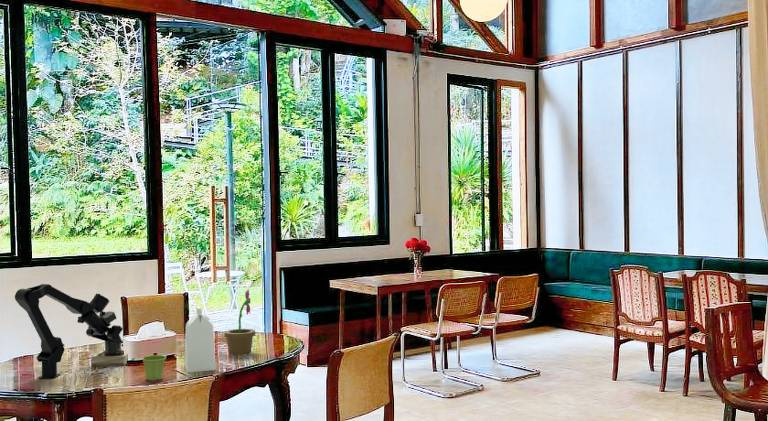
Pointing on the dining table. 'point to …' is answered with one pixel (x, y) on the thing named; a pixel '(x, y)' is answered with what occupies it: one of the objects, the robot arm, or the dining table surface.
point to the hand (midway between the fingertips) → (115, 342)
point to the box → (109, 359)
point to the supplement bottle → (112, 348)
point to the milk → (199, 343)
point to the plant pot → (154, 366)
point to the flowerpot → (240, 334)
